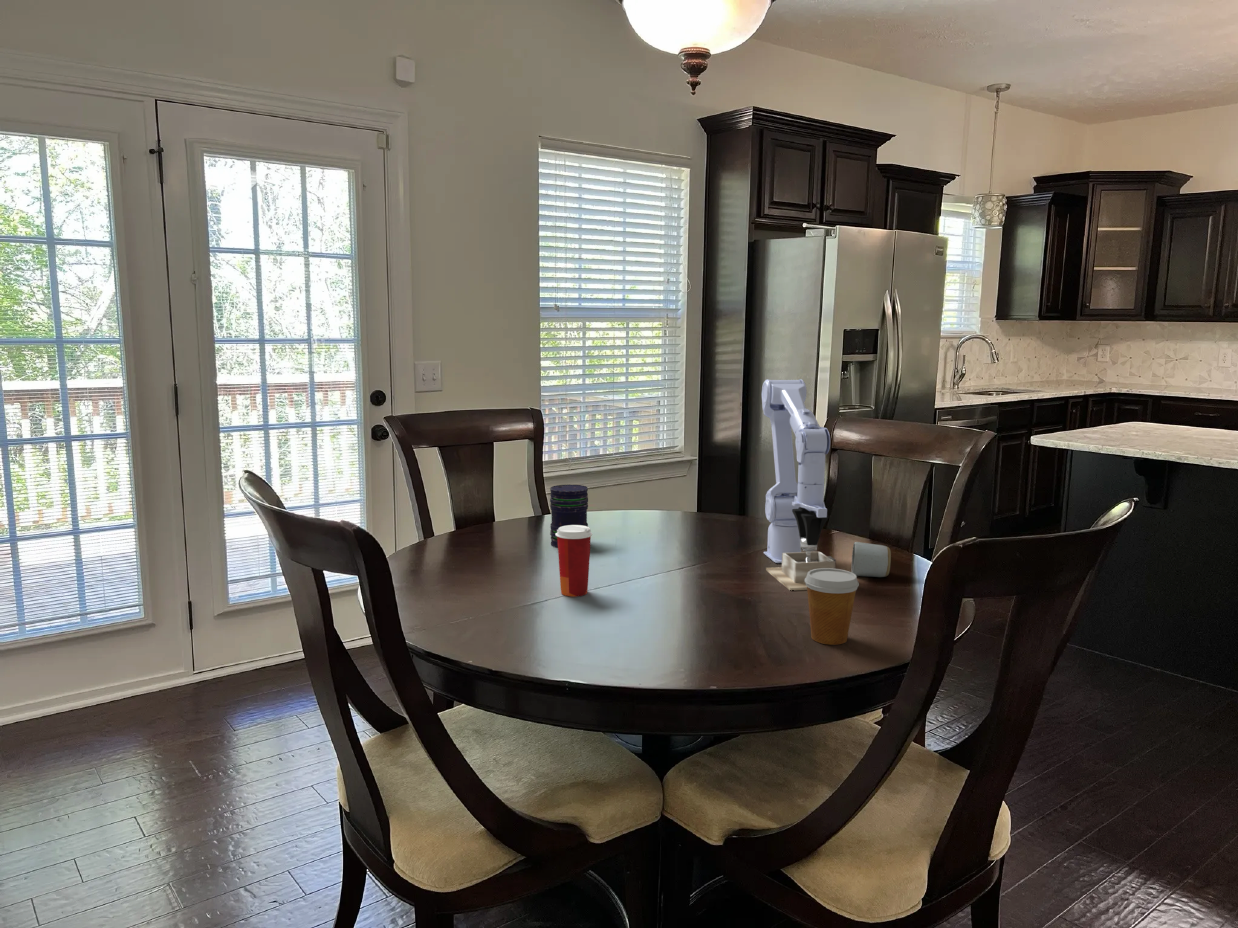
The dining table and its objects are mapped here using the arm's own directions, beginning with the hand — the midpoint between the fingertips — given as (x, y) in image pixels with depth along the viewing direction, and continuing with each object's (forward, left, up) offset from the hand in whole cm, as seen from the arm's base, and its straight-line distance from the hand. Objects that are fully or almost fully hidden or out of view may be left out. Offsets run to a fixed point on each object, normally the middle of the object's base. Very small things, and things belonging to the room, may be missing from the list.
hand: (808, 542), depth 192 cm
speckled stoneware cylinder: (-2, +15, -9) cm, 18 cm away
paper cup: (+3, -53, -9) cm, 54 cm away
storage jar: (-39, -50, -9) cm, 64 cm away
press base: (0, 0, -8) cm, 8 cm away
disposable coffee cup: (+37, -10, -9) cm, 39 cm away
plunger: (0, 0, -6) cm, 6 cm away
